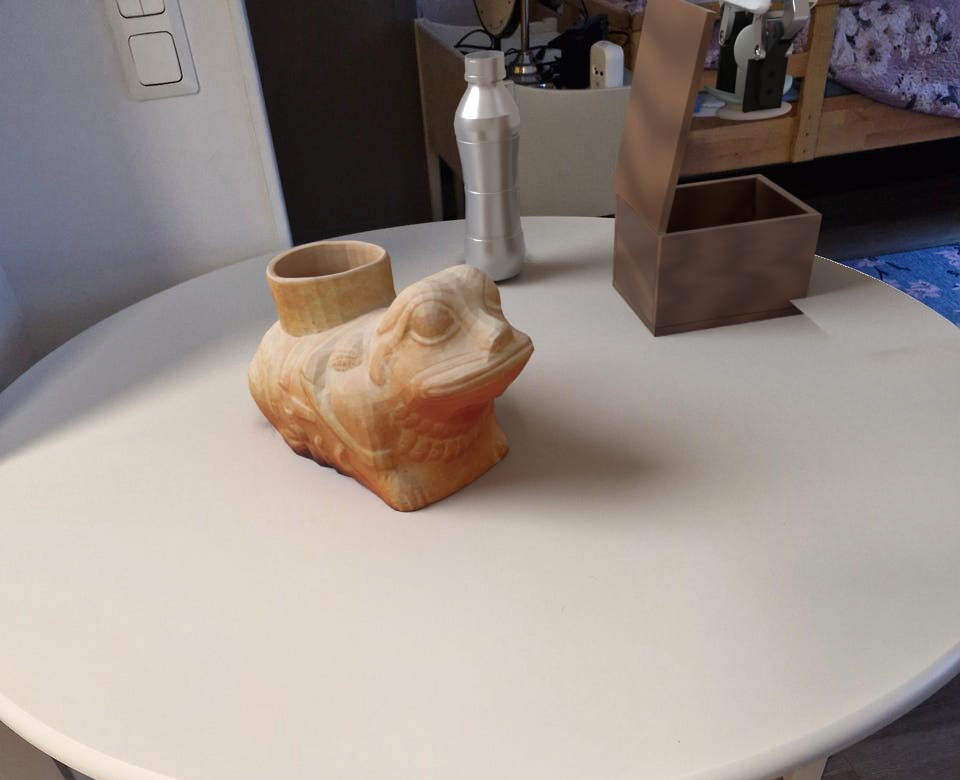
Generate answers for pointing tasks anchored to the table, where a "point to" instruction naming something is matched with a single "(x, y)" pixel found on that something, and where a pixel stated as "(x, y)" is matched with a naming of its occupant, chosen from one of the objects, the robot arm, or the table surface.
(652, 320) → the chest
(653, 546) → the table surface
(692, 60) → the lid
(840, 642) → the table surface
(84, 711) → the table surface
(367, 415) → the ceramic vessel
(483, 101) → the silver bottle
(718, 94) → the pacifier
